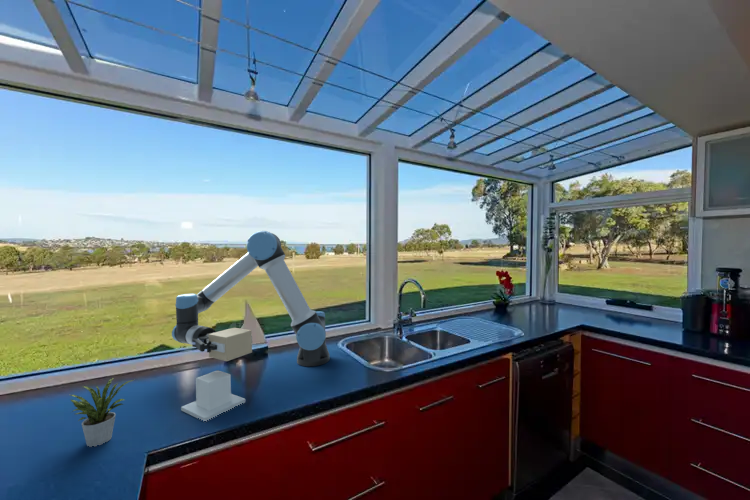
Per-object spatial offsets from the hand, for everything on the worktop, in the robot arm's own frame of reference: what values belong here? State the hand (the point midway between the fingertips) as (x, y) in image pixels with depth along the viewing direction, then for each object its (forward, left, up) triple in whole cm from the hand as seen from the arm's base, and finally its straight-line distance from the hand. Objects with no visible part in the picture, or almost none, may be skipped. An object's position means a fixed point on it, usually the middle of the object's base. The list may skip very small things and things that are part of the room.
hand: (238, 343), depth 108 cm
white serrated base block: (+7, +3, -20) cm, 21 cm away
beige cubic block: (+3, -3, -4) cm, 6 cm away
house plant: (+31, +17, -20) cm, 41 cm away
